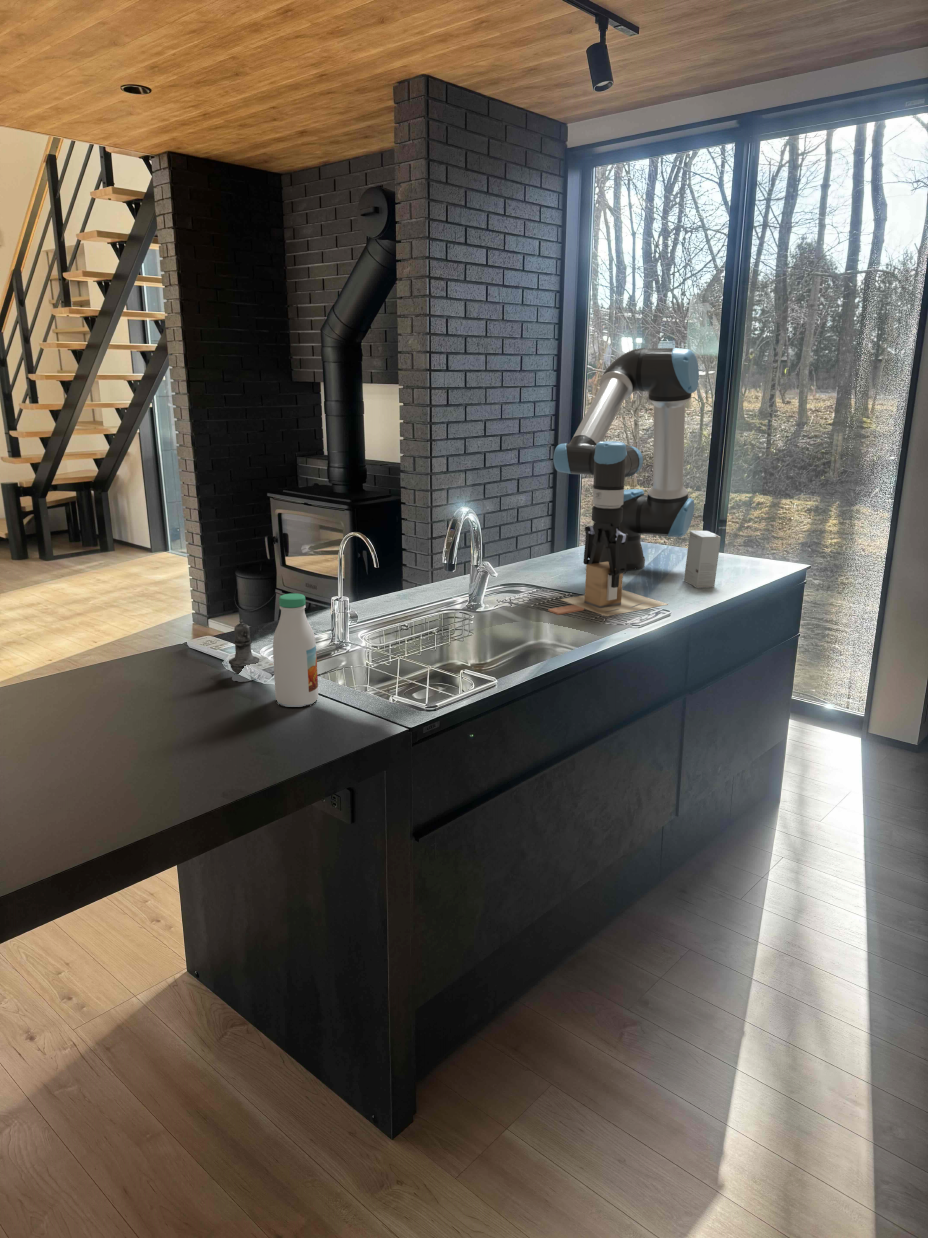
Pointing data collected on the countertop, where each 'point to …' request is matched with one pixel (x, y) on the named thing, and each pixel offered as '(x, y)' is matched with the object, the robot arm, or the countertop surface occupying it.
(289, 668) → the milk bottle
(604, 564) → the cardboard box
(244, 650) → the dark grey chess piece
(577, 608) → the terracotta square block
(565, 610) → the salmon orange square block
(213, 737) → the countertop surface
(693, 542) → the skincare box
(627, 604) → the birch board
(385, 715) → the countertop surface
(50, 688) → the countertop surface
